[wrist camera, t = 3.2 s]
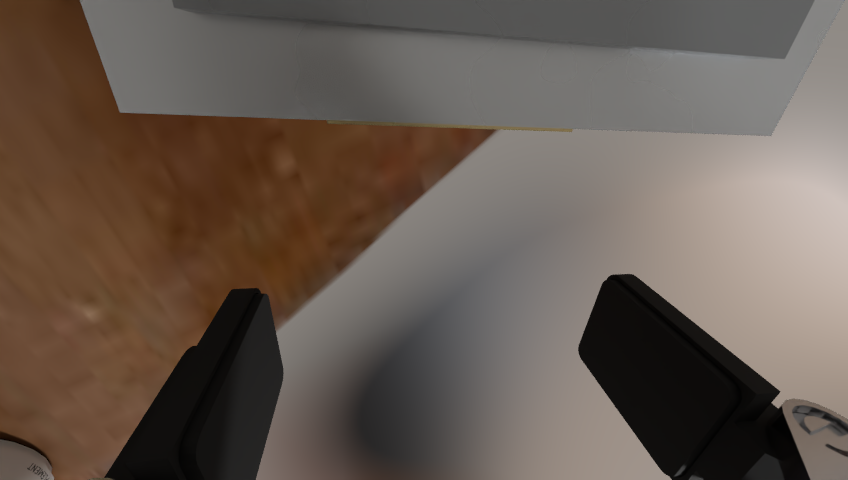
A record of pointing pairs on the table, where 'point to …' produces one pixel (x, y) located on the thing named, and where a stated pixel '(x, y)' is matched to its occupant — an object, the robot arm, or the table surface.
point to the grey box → (465, 61)
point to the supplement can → (22, 463)
